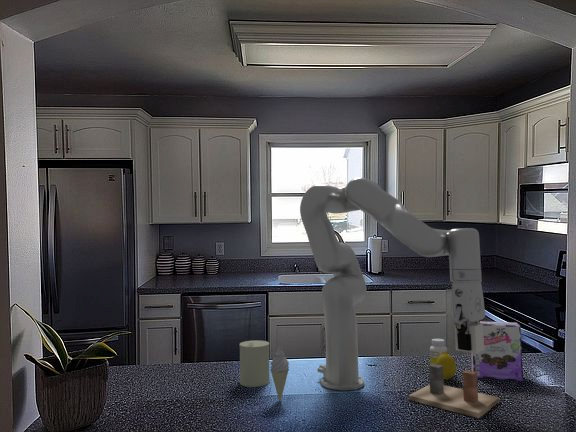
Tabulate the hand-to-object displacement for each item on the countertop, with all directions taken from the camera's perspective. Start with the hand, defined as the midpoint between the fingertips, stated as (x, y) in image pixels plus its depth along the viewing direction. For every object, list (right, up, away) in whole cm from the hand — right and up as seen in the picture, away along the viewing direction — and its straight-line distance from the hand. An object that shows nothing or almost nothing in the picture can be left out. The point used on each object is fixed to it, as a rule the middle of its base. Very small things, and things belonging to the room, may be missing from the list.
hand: (469, 346), depth 110 cm
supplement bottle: (+3, -17, +30) cm, 34 cm away
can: (-56, -17, +21) cm, 62 cm away
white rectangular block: (0, -1, 0) cm, 1 cm away
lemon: (+2, -16, +20) cm, 26 cm away
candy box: (+18, -16, +22) cm, 33 cm away
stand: (-3, -15, +2) cm, 15 cm away
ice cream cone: (-48, -16, +4) cm, 51 cm away
